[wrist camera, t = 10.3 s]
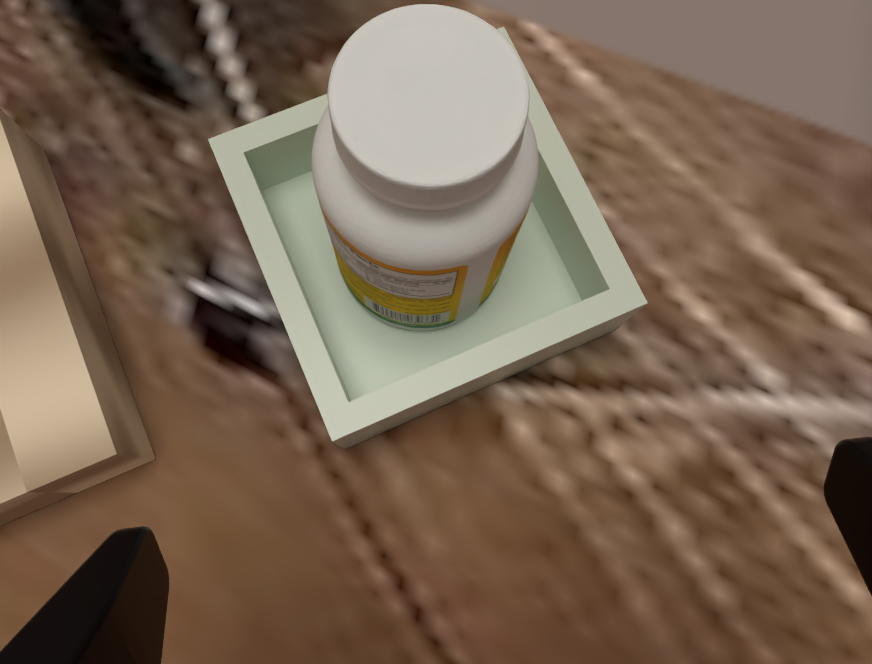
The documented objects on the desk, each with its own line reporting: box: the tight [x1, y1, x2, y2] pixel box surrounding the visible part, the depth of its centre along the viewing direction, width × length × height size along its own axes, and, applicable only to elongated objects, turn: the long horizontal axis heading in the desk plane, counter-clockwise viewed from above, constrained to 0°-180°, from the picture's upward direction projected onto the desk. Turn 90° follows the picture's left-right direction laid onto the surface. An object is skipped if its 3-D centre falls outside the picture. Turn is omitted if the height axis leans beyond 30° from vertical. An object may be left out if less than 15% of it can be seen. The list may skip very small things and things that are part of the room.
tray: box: [208, 27, 647, 449], centre depth 23 cm, size 10×10×4 cm
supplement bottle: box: [312, 4, 539, 331], centre depth 19 cm, size 5×5×10 cm
